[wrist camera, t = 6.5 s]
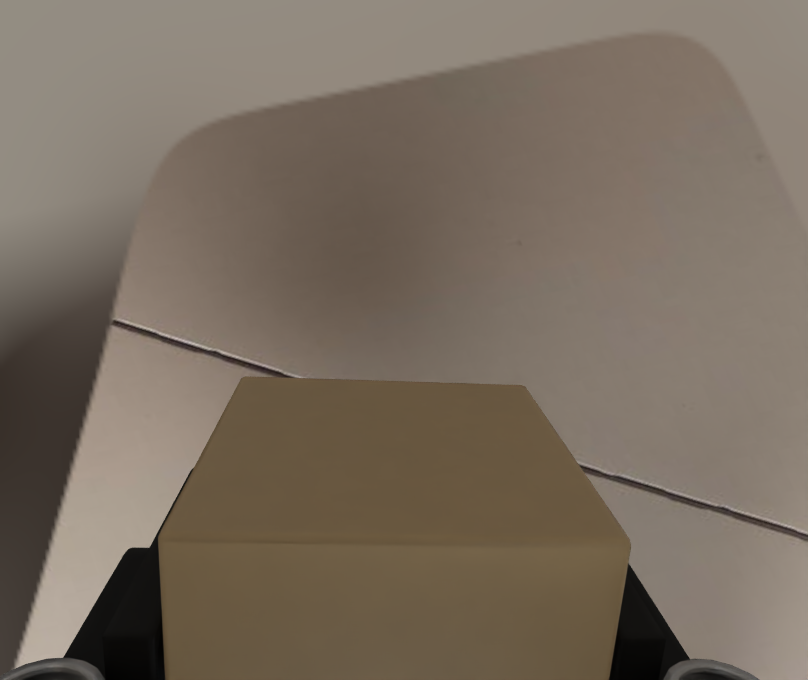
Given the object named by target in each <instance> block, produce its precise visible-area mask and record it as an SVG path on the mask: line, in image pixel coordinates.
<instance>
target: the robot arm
mask: <svg viewBox="0 0 808 680" xmlns="http://www.w3.org/2000/svg"><path fill="white" fill-rule="evenodd" d="M193 469H194V468H193ZM193 469H192V470H191V471H190V473H189V475H188V477H187V479H186V481H185V482H184V484H183V486H182V488H181V490H180V492H179V494H178V496H177V497H176V499H175V501H174V503H173V505H172V507H171V509H170V511H169V512H168V514H167V516H166V518H165V520H164V522H163V524H162V526H161V527H160V529H159V531H158V533H157V535H156V537H155V539H154V541H153V542H152V544H151V546H150V548H130V549H128V550H127V551H126V553H125V554H124V555H123V557H122V559H121V560H120V562H119V564H118V566H117V567H116V569H115V571H114V572H113V574H112V576H111V577H110V579H109V581H108V583H107V584H106V586H105V588H104V589H103V591H102V593H101V594H100V596H99V598H98V600H97V601H96V603H95V605H94V606H93V608H92V610H91V611H90V613H89V615H88V617H87V618H86V620H85V622H84V623H83V625H82V627H81V628H80V630H79V632H78V634H77V635H76V637H75V639H74V640H73V642H72V644H71V645H70V647H69V649H68V651H67V652H66V654H65V656H64V657H63V658H52V659H44V660H40V661H36V662H32V663H28V664H25V665H23V666H21V667H18V668H16V669H14V670H11V671H9V672H7V673H5V674H3V675H2V676H0V680H165V666H164V646H163V627H162V607H161V588H160V568H159V549H158V536H159V534H160V532H161V530H162V528H163V526H164V524H165V522H166V520H167V518H168V516H169V514H170V513H171V511H172V509H173V507H174V505H175V503H176V501H177V499H178V497H179V496H180V494H181V492H182V490H183V488H184V486H185V484H186V482H187V480H188V478H189V477H190V475H191V473H192V471H193ZM609 680H759V679H758V678H756V677H755V676H753V675H751V674H750V673H748V672H746V671H743V670H741V669H739V668H737V667H734V666H732V665H729V664H726V663H722V662H718V661H714V660H706V659H691V660H690V658H689V657H688V655H687V654H686V652H685V651H684V649H683V648H682V646H681V644H680V643H679V641H678V640H677V638H676V637H675V635H674V634H673V632H672V630H671V629H670V627H669V626H668V624H667V623H666V621H665V619H664V618H663V616H662V615H661V613H660V612H659V610H658V609H657V607H656V605H655V604H654V602H653V601H652V599H651V598H650V596H649V594H648V593H647V591H646V590H645V588H644V587H643V585H642V584H641V582H640V580H639V579H638V577H637V576H636V574H635V573H634V571H633V570H632V568H631V566H630V565H629V563H628V568H627V574H626V580H625V586H624V592H623V598H622V604H621V610H620V616H619V622H618V628H617V634H616V640H615V646H614V652H613V658H612V664H611V670H610V676H609Z"/></svg>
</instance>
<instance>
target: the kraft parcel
mask: <svg viewBox="0 0 808 680" xmlns="http://www.w3.org/2000/svg"><path fill="white" fill-rule="evenodd" d="M158 549H159V568H160V588H161V607H162V627H163V646H164V666H165V680H609V676H610V670H611V664H612V658H613V652H614V646H615V640H616V634H617V628H618V622H619V616H620V610H621V604H622V598H623V592H624V586H625V580H626V574H627V568H628V562H629V556H630V550H631V543H630V539H629V537H628V536H627V534H626V533H625V532H624V530H623V529H622V527H621V526H620V524H619V523H618V521H617V520H616V518H615V517H614V516H613V514H612V513H611V511H610V510H609V508H608V507H607V505H606V504H605V502H604V501H603V499H602V498H601V497H600V495H599V494H598V492H597V491H596V489H595V488H594V486H593V485H592V483H591V482H590V480H589V479H588V478H587V476H586V475H585V473H584V472H583V470H582V469H581V467H580V466H579V464H578V463H577V462H576V460H575V459H574V457H573V456H572V454H571V453H570V451H569V450H568V448H567V447H566V445H565V444H564V443H563V441H562V440H561V438H560V437H559V435H558V434H557V432H556V431H555V429H554V428H553V426H552V425H551V424H550V422H549V421H548V419H547V418H546V416H545V415H544V413H543V412H542V410H541V409H540V407H539V406H538V405H537V403H536V402H535V400H534V399H533V397H532V396H531V394H530V393H529V391H528V390H527V389H526V387H525V386H522V385H499V384H467V383H435V382H404V381H372V380H340V379H308V378H277V377H243V378H241V380H240V382H239V384H238V386H237V388H236V389H235V391H234V393H233V395H232V397H231V399H230V401H229V403H228V405H227V406H226V408H225V410H224V412H223V414H222V416H221V418H220V420H219V422H218V424H217V425H216V427H215V429H214V431H213V433H212V435H211V437H210V439H209V441H208V442H207V444H206V446H205V448H204V450H203V452H202V454H201V456H200V458H199V460H198V461H197V463H196V465H195V467H194V469H193V471H192V473H191V475H190V477H189V478H188V480H187V482H186V484H185V486H184V488H183V490H182V492H181V494H180V496H179V497H178V499H177V501H176V503H175V505H174V507H173V509H172V511H171V513H170V514H169V516H168V518H167V520H166V522H165V524H164V526H163V528H162V530H161V532H160V534H159V536H158Z"/></svg>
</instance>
